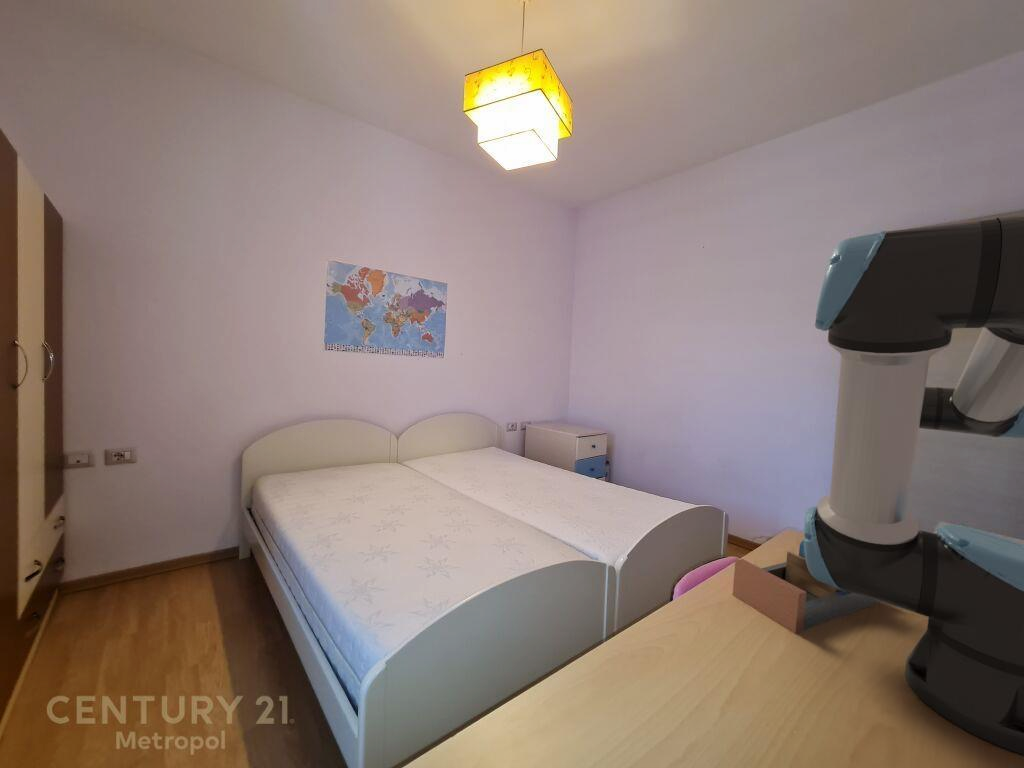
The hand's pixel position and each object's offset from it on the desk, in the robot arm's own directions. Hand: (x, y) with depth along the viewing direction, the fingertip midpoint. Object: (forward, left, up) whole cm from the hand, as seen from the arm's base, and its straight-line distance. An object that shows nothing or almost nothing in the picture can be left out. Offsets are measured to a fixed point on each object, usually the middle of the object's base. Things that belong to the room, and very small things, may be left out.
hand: (861, 554), depth 87 cm
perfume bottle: (0, +13, -3) cm, 14 cm away
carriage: (0, +12, -5) cm, 13 cm away
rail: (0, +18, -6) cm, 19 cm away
